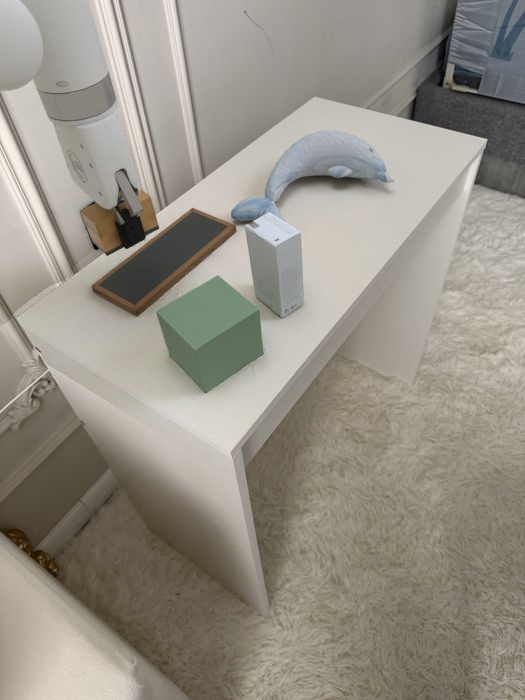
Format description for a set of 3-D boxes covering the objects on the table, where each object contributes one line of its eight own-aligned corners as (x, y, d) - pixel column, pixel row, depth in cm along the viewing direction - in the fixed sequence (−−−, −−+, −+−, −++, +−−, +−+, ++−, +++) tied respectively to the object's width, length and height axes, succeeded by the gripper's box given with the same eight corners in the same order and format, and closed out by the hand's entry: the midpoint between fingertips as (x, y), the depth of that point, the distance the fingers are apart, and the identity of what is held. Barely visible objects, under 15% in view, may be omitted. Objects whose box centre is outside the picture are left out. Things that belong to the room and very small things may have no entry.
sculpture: (315, 280, 80) (402, 185, 89) (317, 248, 73) (411, 148, 82) (227, 229, 86) (316, 144, 95) (221, 194, 79) (318, 107, 88)
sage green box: (205, 393, 62) (194, 350, 56) (169, 355, 66) (155, 311, 60) (263, 353, 66) (259, 309, 60) (225, 319, 70) (217, 274, 64)
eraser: (107, 256, 67) (94, 224, 63) (92, 242, 69) (79, 210, 65) (159, 228, 70) (150, 196, 66) (144, 215, 72) (134, 183, 68)
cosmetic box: (305, 304, 71) (305, 230, 62) (280, 320, 69) (276, 247, 60) (276, 281, 74) (271, 208, 65) (251, 296, 72) (243, 224, 63)
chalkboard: (137, 316, 71) (134, 310, 70) (93, 292, 75) (90, 286, 74) (236, 231, 82) (235, 225, 81) (193, 213, 86) (192, 207, 85)
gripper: (14, 84, 58) (72, 220, 72) (82, 136, 49) (133, 279, 63) (74, 62, 61) (119, 197, 75) (149, 108, 52) (184, 251, 66)
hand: (125, 233), depth 69 cm, fingers closed on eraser, 4 cm apart
